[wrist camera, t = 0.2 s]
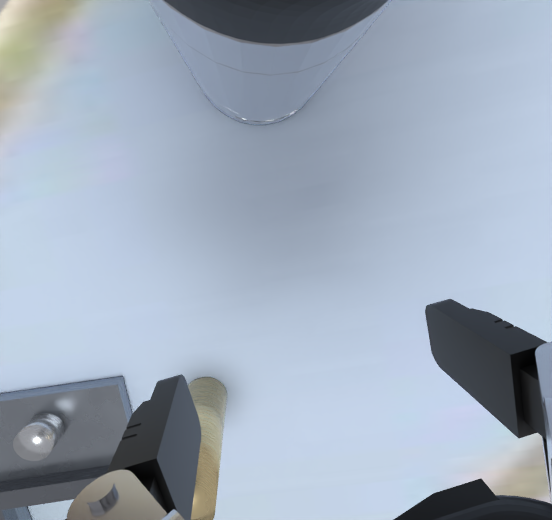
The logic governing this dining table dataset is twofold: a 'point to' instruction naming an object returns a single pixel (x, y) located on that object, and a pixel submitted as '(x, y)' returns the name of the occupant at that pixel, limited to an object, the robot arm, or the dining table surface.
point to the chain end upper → (44, 489)
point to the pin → (208, 443)
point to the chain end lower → (61, 428)
